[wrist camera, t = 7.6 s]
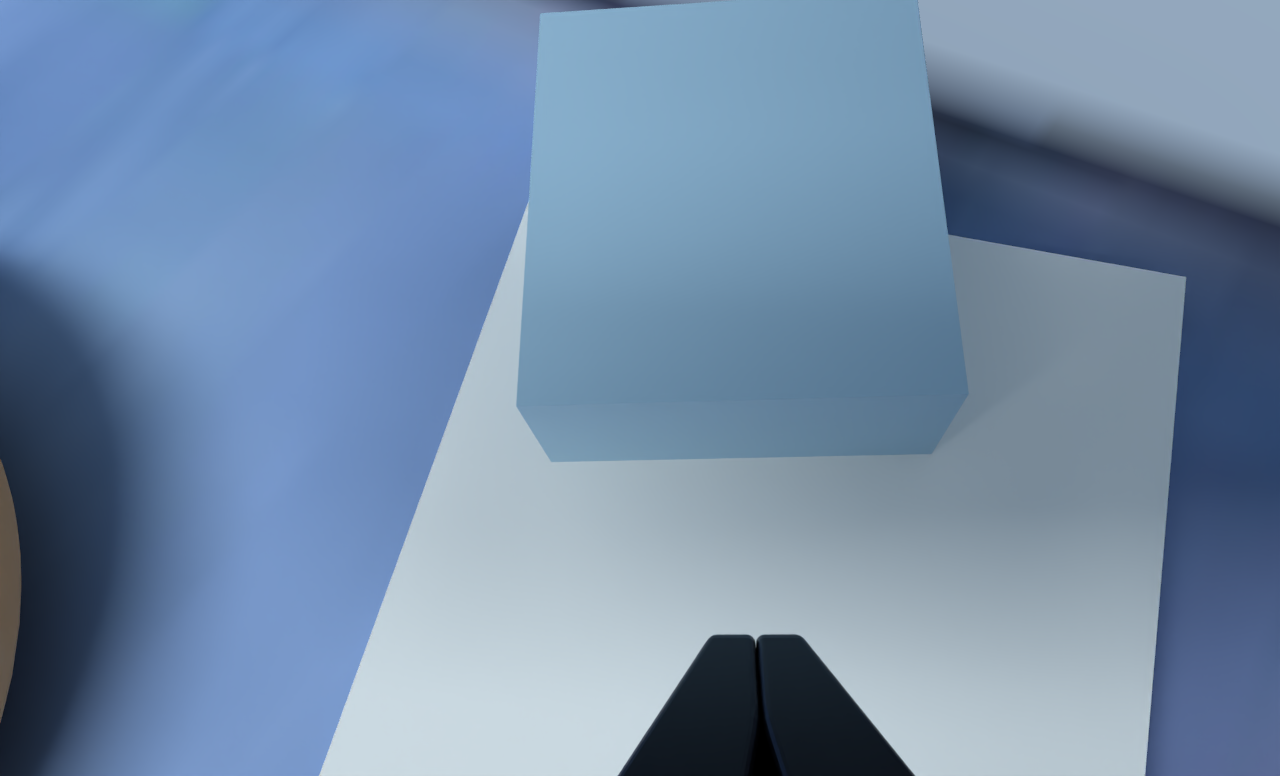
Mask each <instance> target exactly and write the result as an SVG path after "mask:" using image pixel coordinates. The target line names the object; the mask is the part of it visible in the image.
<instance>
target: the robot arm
mask: <svg viewBox="0 0 1280 776" xmlns="http://www.w3.org/2000/svg"><path fill="white" fill-rule="evenodd" d="M618 776H915V775H914V774H913V772H912V771H911V770H910V769H909V767H908V766H907V765H906V764H905V762H904V761H903V760H902V759H901V758H900V756H899V755H898V754H897V753H896V751H895V750H894V749H893V748H892V746H891V745H890V744H889V743H888V741H887V740H886V739H885V738H884V737H883V735H882V734H881V733H880V732H879V730H878V729H877V728H876V727H875V725H874V724H873V723H872V722H871V720H870V719H869V718H868V717H867V716H866V714H865V713H864V712H863V711H862V709H861V708H860V707H859V706H858V704H857V703H856V702H855V701H854V700H853V698H852V697H851V696H850V695H849V693H848V692H847V691H846V690H845V688H844V687H843V686H842V685H841V683H840V682H839V681H838V680H837V679H836V677H835V676H834V675H833V674H832V672H831V671H830V670H829V669H828V667H827V666H826V665H825V664H824V662H823V661H822V660H821V659H820V658H819V656H818V655H817V654H816V653H815V651H814V650H813V649H812V648H811V646H810V645H809V644H808V643H807V642H806V640H805V639H804V638H803V637H801V636H800V635H797V634H763V635H760V636H759V637H758V638H757V640H756V643H755V639H754V638H753V637H752V636H751V635H748V634H716V635H712V636H711V637H709V638H708V640H707V641H706V642H705V644H704V645H703V647H702V648H701V650H700V651H699V653H698V654H697V656H696V658H695V659H694V661H693V662H692V664H691V665H690V667H689V668H688V670H687V671H686V673H685V674H684V676H683V677H682V679H681V680H680V682H679V683H678V685H677V686H676V688H675V689H674V691H673V692H672V694H671V695H670V697H669V698H668V700H667V701H666V703H665V705H664V706H663V708H662V709H661V711H660V712H659V714H658V715H657V717H656V718H655V720H654V721H653V723H652V724H651V726H650V727H649V729H648V730H647V732H646V733H645V735H644V736H643V738H642V739H641V741H640V742H639V744H638V745H637V747H636V748H635V750H634V752H633V753H632V755H631V756H630V758H629V759H628V761H627V762H626V764H625V765H624V767H623V768H622V770H621V771H620V773H619V774H618Z"/></svg>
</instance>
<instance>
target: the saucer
mask: <svg viewBox="0 0 1280 776" xmlns="http://www.w3.org/2000/svg"><path fill="white" fill-rule="evenodd" d="M20 605H21V554H20V545H19V535H18V526H17V520H16V514H15V509H14V503H13V499H12V495H11V491H10V488H9V484H8V481H7V477H6V474H5V471H4V467H3V464H2V462H1V459H0V722H1V719H2V715H3V711H4V707H5V703H6V698H7V694H8V690H9V686H10V682H11V678H12V673H13V666H14V659H15V652H16V645H17V638H18V631H19V624H20Z"/></svg>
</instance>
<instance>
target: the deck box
mask: <svg viewBox="0 0 1280 776" xmlns="http://www.w3.org/2000/svg"><path fill="white" fill-rule="evenodd" d="M968 394H969V392H968V384H967V376H966V369H965V361H964V353H963V346H962V338H961V330H960V323H959V315H958V307H957V300H956V292H955V284H954V277H953V269H952V261H951V253H950V246H949V238H948V230H947V223H946V215H945V207H944V200H943V192H942V184H941V177H940V169H939V161H938V154H937V146H936V138H935V131H934V123H933V115H932V108H931V100H930V92H929V85H928V77H927V69H926V62H925V54H924V46H923V39H922V31H921V24H920V16H919V8H918V0H732V1H718V2H703V3H688V4H673V5H658V6H644V7H629V8H614V9H599V10H584V11H570V12H555V13H540V27H539V43H538V59H537V75H536V92H535V108H534V124H533V140H532V157H531V173H530V189H529V205H528V222H527V238H526V254H525V270H524V286H523V303H522V319H521V335H520V351H519V368H518V384H517V400H516V407H517V408H518V410H519V412H520V413H521V415H522V416H523V418H524V420H525V421H526V423H527V424H528V426H529V428H530V429H531V431H532V432H533V434H534V435H535V437H536V439H537V440H538V442H539V443H540V445H541V447H542V448H543V450H544V451H545V453H546V455H547V456H548V458H549V459H550V461H551V462H580V461H627V460H674V459H721V458H768V457H814V456H861V455H908V454H932V452H933V451H934V449H935V448H936V446H937V444H938V443H939V441H940V440H941V438H942V436H943V435H944V433H945V431H946V430H947V428H948V427H949V425H950V423H951V422H952V420H953V419H954V417H955V415H956V414H957V412H958V411H959V409H960V407H961V406H962V404H963V402H964V401H965V399H966V398H967V396H968Z"/></svg>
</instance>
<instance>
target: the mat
mask: <svg viewBox="0 0 1280 776" xmlns="http://www.w3.org/2000/svg"><path fill="white" fill-rule="evenodd" d="M528 205H529V202H528V204H527V207H526V210H525V213H524V215H523V218H522V221H521V224H520V226H519V229H518V232H517V235H516V237H515V240H514V243H513V246H512V248H511V251H510V254H509V257H508V259H507V262H506V265H505V268H504V270H503V273H502V276H501V279H500V281H499V284H498V287H497V290H496V292H495V295H494V298H493V301H492V303H491V306H490V309H489V311H488V314H487V317H486V320H485V322H484V325H483V328H482V331H481V333H480V336H479V339H478V342H477V344H476V347H475V350H474V353H473V355H472V358H471V361H470V364H469V366H468V369H467V372H466V375H465V377H464V380H463V383H462V386H461V388H460V391H459V394H458V397H457V399H456V402H455V405H454V408H453V410H452V413H451V416H450V419H449V421H448V424H447V427H446V429H445V432H444V435H443V438H442V440H441V443H440V446H439V449H438V451H437V454H436V457H435V460H434V462H433V465H432V468H431V471H430V473H429V476H428V479H427V482H426V484H425V487H424V490H423V493H422V495H421V498H420V501H419V504H418V506H417V509H416V512H415V515H414V517H413V520H412V523H411V526H410V528H409V531H408V534H407V537H406V539H405V542H404V545H403V547H402V550H401V553H400V556H399V558H398V561H397V564H396V567H395V569H394V572H393V575H392V578H391V580H390V583H389V586H388V589H387V591H386V594H385V597H384V600H383V602H382V605H381V608H380V611H379V613H378V616H377V619H376V622H375V624H374V627H373V630H372V633H371V635H370V638H369V641H368V644H367V646H366V649H365V652H364V655H363V657H362V660H361V663H360V665H359V668H358V671H357V674H356V676H355V679H354V682H353V685H352V687H351V690H350V693H349V696H348V698H347V701H346V704H345V707H344V709H343V712H342V715H341V718H340V720H339V723H338V726H337V729H336V731H335V734H334V737H333V740H332V742H331V745H330V748H329V751H328V753H327V756H326V759H325V762H324V764H323V767H322V770H321V772H320V775H319V776H618V774H619V773H620V771H621V770H622V768H623V767H624V765H625V764H626V762H627V761H628V759H629V758H630V756H631V755H632V753H633V752H634V750H635V748H636V747H637V745H638V744H639V742H640V741H641V739H642V738H643V736H644V735H645V733H646V732H647V730H648V729H649V727H650V726H651V724H652V723H653V721H654V720H655V718H656V717H657V715H658V714H659V712H660V711H661V709H662V708H663V706H664V705H665V703H666V701H667V700H668V698H669V697H670V695H671V694H672V692H673V691H674V689H675V688H676V686H677V685H678V683H679V682H680V680H681V679H682V677H683V676H684V674H685V673H686V671H687V670H688V668H689V667H690V665H691V664H692V662H693V661H694V659H695V658H696V656H697V654H698V653H699V651H700V650H701V648H702V647H703V645H704V644H705V642H706V641H707V640H708V638H709V637H711V636H712V635H716V634H748V635H751V636H752V637H753V638H754V639H755V643H756V640H757V638H758V637H759V636H760V635H763V634H797V635H800V636H801V637H803V638H804V639H805V640H806V642H807V643H808V644H809V645H810V646H811V648H812V649H813V650H814V651H815V653H816V654H817V655H818V656H819V658H820V659H821V660H822V661H823V662H824V664H825V665H826V666H827V667H828V669H829V670H830V671H831V672H832V674H833V675H834V676H835V677H836V679H837V680H838V681H839V682H840V683H841V685H842V686H843V687H844V688H845V690H846V691H847V692H848V693H849V695H850V696H851V697H852V698H853V700H854V701H855V702H856V703H857V704H858V706H859V707H860V708H861V709H862V711H863V712H864V713H865V714H866V716H867V717H868V718H869V719H870V720H871V722H872V723H873V724H874V725H875V727H876V728H877V729H878V730H879V732H880V733H881V734H882V735H883V737H884V738H885V739H886V740H887V741H888V743H889V744H890V745H891V746H892V748H893V749H894V750H895V751H896V753H897V754H898V755H899V756H900V758H901V759H902V760H903V761H904V762H905V764H906V765H907V766H908V767H909V769H910V770H911V771H912V772H913V774H914V775H915V776H1145V769H1146V757H1147V745H1148V733H1149V721H1150V709H1151V697H1152V685H1153V673H1154V661H1155V649H1156V636H1157V624H1158V612H1159V600H1160V588H1161V576H1162V564H1163V552H1164V540H1165V528H1166V516H1167V503H1168V491H1169V479H1170V467H1171V455H1172V443H1173V431H1174V419H1175V407H1176V395H1177V383H1178V370H1179V358H1180V346H1181V334H1182V322H1183V310H1184V298H1185V286H1186V277H1184V276H1178V275H1172V274H1167V273H1161V272H1156V271H1150V270H1144V269H1139V268H1133V267H1128V266H1122V265H1116V264H1111V263H1105V262H1099V261H1094V260H1088V259H1083V258H1077V257H1071V256H1066V255H1060V254H1055V253H1049V252H1043V251H1038V250H1032V249H1027V248H1021V247H1015V246H1010V245H1004V244H999V243H993V242H987V241H982V240H976V239H970V238H965V237H959V236H954V235H948V238H949V246H950V253H951V261H952V269H953V277H954V284H955V292H956V300H957V307H958V315H959V323H960V330H961V338H962V346H963V353H964V361H965V369H966V376H967V384H968V392H969V394H968V396H967V398H966V399H965V401H964V402H963V404H962V406H961V407H960V409H959V411H958V412H957V414H956V415H955V417H954V419H953V420H952V422H951V423H950V425H949V427H948V428H947V430H946V431H945V433H944V435H943V436H942V438H941V440H940V441H939V443H938V444H937V446H936V448H935V449H934V451H933V452H932V454H908V455H861V456H814V457H768V458H721V459H674V460H627V461H580V462H551V461H550V459H549V458H548V456H547V455H546V453H545V451H544V450H543V448H542V447H541V445H540V443H539V442H538V440H537V439H536V437H535V435H534V434H533V432H532V431H531V429H530V428H529V426H528V424H527V423H526V421H525V420H524V418H523V416H522V415H521V413H520V412H519V410H518V408H517V407H516V400H517V384H518V368H519V351H520V335H521V319H522V303H523V286H524V270H525V254H526V238H527V222H528Z"/></svg>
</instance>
